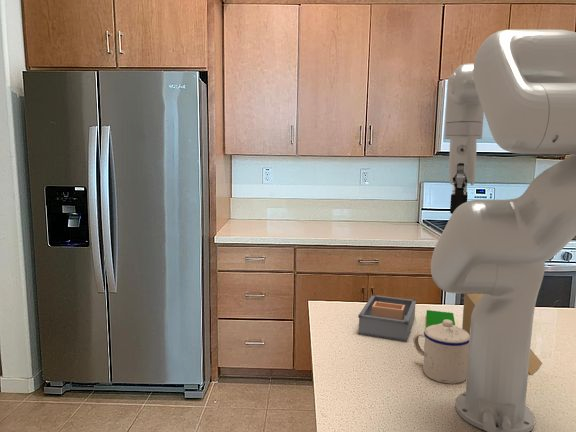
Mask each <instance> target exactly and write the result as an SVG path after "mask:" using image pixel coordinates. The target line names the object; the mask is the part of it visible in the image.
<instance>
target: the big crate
mask: <svg viewBox="0 0 576 432" xmlns="http://www.w3.org/2000/svg"><path fill="white" fill-rule="evenodd" d="M375 301H377V302H385V303H393V304H401V305H405V317H404V320H398V319H391V318H383V317H376V316H372V306H373V304H374V302H375ZM416 304H417V300H416V299H408V298H400V297H391V296H385V295H378V294H377V295H376V294H372V295H371V296H370V298H369V299H368V301H367V302H366V304H365V305H364V306H363V308H362V309H361V311H360V312H359V313H358V316H357V318H358V335H361V336H367V337H372V338H378V339H379V338H380V339H386V340H391V341H399V342H405V343H408V340H409V337H410V333H411V330H412V327H413V325H414V321H415V317H416Z"/></svg>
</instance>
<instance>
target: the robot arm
mask: <svg viewBox="0 0 576 432" xmlns="http://www.w3.org/2000/svg"><path fill="white" fill-rule="evenodd" d="M446 86H447V87H446V103H445V104H446V105H445V120H444V121H445V122H444V123H445V124H444V138H443V139H445V140H449V154H448V155H449V156H448V158H449V160H448V164H449V165H448V172H449V173H448V174H449V176H448V177H449V184H451V185H452V191H451V194H450V205H449V208H450V209H449V212H450V214H451V215H450V217H449V219H448V220H447V223H446V224H445V226H444V229H443V230H442V233H441V235H440V236H439V238H438V240H437V243H436V245H435V246H434V250H433V252H432V254H431V255H432V256H431V260H430V272H431V273H430V274H431V276H432V277H431V278H432V280H433V282H434V283H435V285H436V286H437V287H438V288H439V289H440V290H441V291H443V292H446V293H450V294H463V295H464V294H483V296H482V297H481V298H480V299H479V301H478V302H477V304H476V305H475V307H474V309H473V312H472V315H471V323H470V337H469V351H468V366H467V378H466V380H465V382H466V383H465V384H466V386H465V391H463V392H462V393H460V394H459V395H458V396H457V397H456V399H455V409H456V411H457V413H458V414H459V416H460V417H461V418H462V419H463V420H464V421H465V422H467V423H469V424H470V425H472V426H474V427H476V428H477V429H479V430H482V431H485V432H530V431H532V430H533V428H534V427H535V420H536V419H535V415H534V413H533V411H532V410H531V409H530V408H529V407H528V406H527V405H526V403H527V391H528V380H529V379H528V378H529V374H528V369H529V357H530V349H531V345H532V336H533V335H532V334H533V323H534V314H535V310H536V303H537V298H538V295H539V291H540V289H541V286H542V283H543V280H544V276H545V269H546V264H545V262H548V261H549V260H550V259H552V258H554V256H556V255H557V254H559V253H560V252H561V251H562V250H563V249H564V248H565V247H566V246H567V245H569V243H570V242H571V240H573V239H574V238H575V237H576V32H575V31H572V30H566V29H550V28H549V29H545V28H544V29H543V28H542V29H504V30H503V29H502V30H498V31H496V32H494V33H492V34H490V35H489V36H488V37H486V39H485V40H484V41H483V42H482V43H481V45H480V46H479V48H478V50H477V52H476V54H475V57H474V61H473V62H472V63H463V64H460V65H459V66H458V67H457V68H456V69H455V70H454V72H452V73H451V74H450V75H449V77H448V79H447V85H446ZM484 116H485V119H486V121H487V125H488V128H489V131H490V133H491V136H492V137H493V140H494V141H495V143H496V145H498V147H499V148H501V149H502V150H504V151H506V152H509V153H512V154H518V155H519V154H520V155H570V156H567V157H566V158H565V159H562V160H560V161H559V162H557V163H555V164H553V165H551V166H550V167H548V168H546V169H545V170H543V171H542V172H541V173H539V174H538V175H537V176H536V177H534V179H533V180H532V181H531V182H530V183H529V185H528V186H527V188H526V190H525V191H524V192H523V193H522V194H521V195H520V196H519V197H516V198H510V199H473V200H468V196H469V195H468V191H467V190H468V189H467V188H468V183H470V186H473V185H475V183H476V182H475V180H476V164H477V140H481V139H483V130H484V129H483V127H484Z"/></svg>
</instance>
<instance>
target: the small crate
mask: <svg viewBox="0 0 576 432" xmlns="http://www.w3.org/2000/svg"><path fill="white" fill-rule="evenodd" d="M372 316H376V317H383V318H391V319H398V320H404V317H405V305H401V304H393V303H385V302H377V301H375V302H374V304H373V306H372Z"/></svg>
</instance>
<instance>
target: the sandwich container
mask: <svg viewBox="0 0 576 432" xmlns="http://www.w3.org/2000/svg"><path fill="white" fill-rule="evenodd" d="M482 296H483V294H463V307H462V308H463V309H462V311H463V312H462V324H461V325H462V327H461V329H463V330H465V331H466V332H468V334H469V335H470V323H471V315H472V312H473V309H474V307H475V305H476V304H477V302H478V301H479V299H480V298H481V297H482ZM542 365H543V362H542V361H541V359H540V358H539V357H538V356H537V355H536V354H535V353H534V351H533V350H532V349H531V348H530V357H529V369H528V376H534V374H536V372H537V371H538V370H539V369H540V368H541V366H542Z"/></svg>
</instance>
